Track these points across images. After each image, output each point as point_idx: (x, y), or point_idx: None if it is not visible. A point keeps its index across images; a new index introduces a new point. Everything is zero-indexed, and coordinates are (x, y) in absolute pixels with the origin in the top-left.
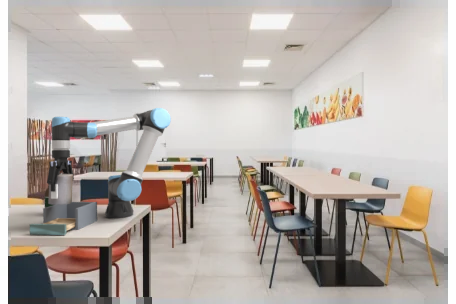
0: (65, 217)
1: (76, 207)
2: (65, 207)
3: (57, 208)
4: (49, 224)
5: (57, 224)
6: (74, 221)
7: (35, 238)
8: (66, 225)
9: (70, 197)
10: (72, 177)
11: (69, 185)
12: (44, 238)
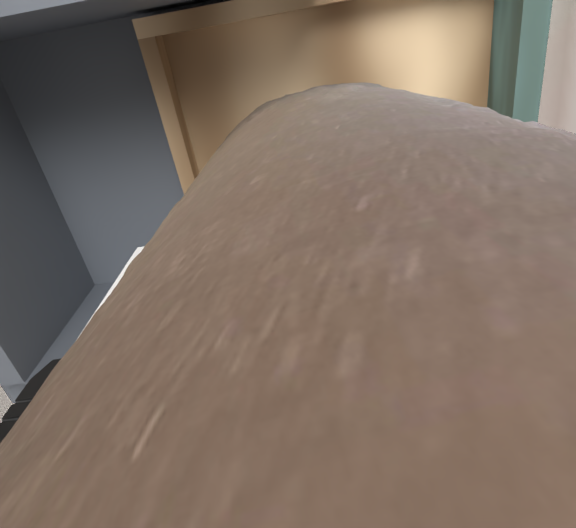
0: (107, 291)
1: (5, 262)
2: (71, 344)
3: None
4: (534, 98)
5: (539, 12)
6: (183, 120)
7: (563, 129)
8: (324, 82)
9: (317, 92)
10: (156, 441)
11: (468, 122)
12: (571, 57)
